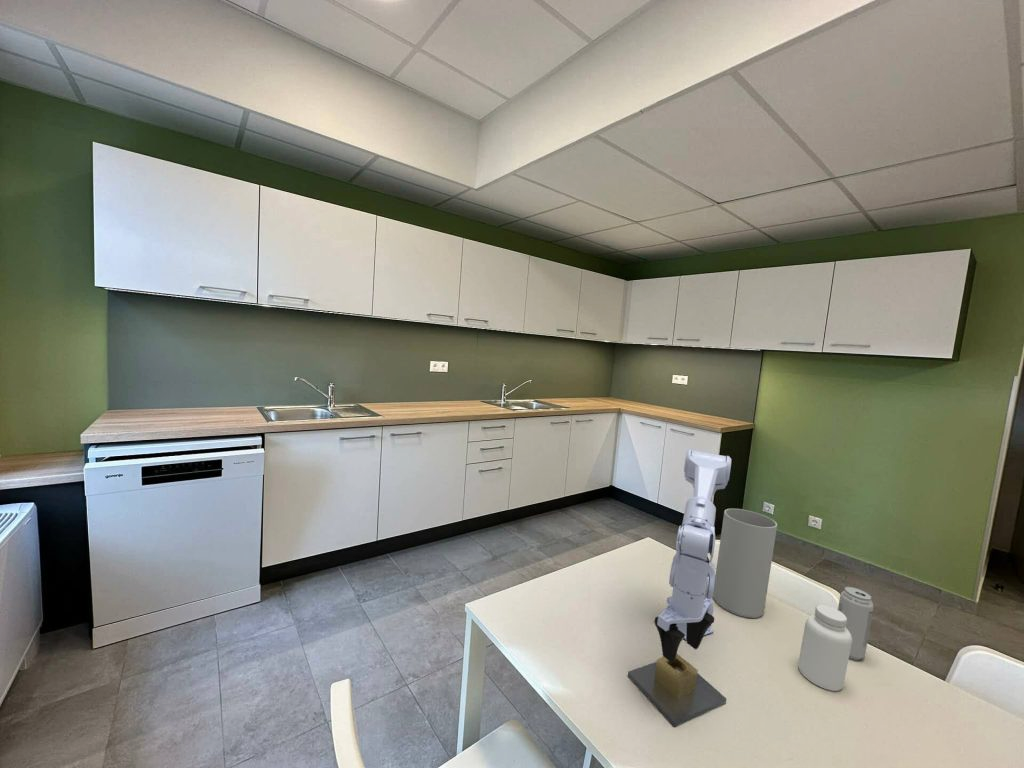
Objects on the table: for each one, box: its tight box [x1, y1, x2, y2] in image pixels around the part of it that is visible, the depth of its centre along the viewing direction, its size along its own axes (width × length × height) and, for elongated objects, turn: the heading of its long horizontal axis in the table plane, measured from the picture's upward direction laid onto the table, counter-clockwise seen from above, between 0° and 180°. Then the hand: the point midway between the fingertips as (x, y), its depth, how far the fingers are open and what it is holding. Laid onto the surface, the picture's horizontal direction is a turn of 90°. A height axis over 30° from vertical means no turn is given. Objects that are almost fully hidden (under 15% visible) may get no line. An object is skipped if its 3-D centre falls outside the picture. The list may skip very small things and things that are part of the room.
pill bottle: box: [797, 604, 852, 692], centre depth 87 cm, size 8×8×15 cm
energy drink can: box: [837, 586, 874, 661], centre depth 96 cm, size 6×6×15 cm
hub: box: [655, 653, 699, 699], centre depth 80 cm, size 5×5×4 cm
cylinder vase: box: [712, 508, 778, 619], centre depth 111 cm, size 12×12×25 cm
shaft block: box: [627, 661, 727, 728], centre depth 80 cm, size 14×12×4 cm
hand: (680, 652), depth 80 cm, fingers open, 7 cm apart
